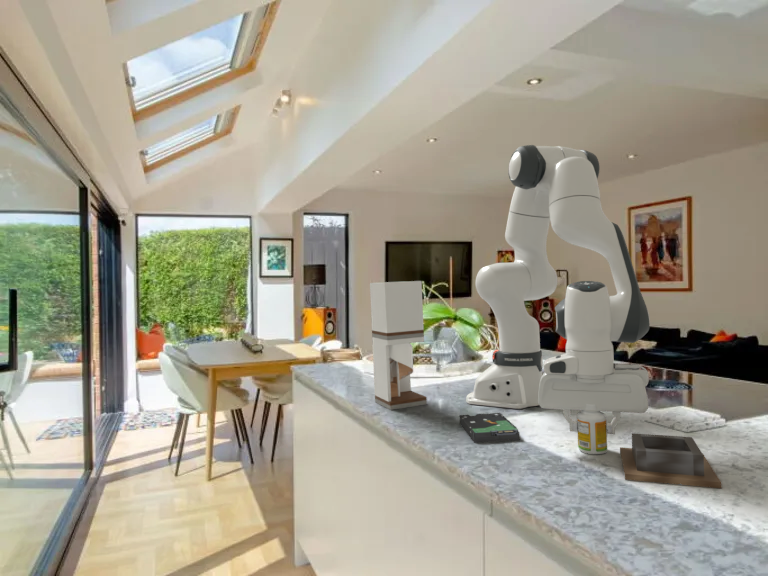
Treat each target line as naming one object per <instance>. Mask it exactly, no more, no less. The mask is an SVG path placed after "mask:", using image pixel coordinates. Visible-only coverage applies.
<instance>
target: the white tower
mask: <svg viewBox="0 0 768 576" xmlns="http://www.w3.org/2000/svg"><path fill="white" fill-rule="evenodd" d="M422 284H423V283H422V280H414V281H413V280H411V281H388V282H387V281H385V282H384V281H383V282H370V283H369V293H370V294H369V295H370V313H371V314H370V315H371V316H370V317H371V339H372V360H373V361H372V362H373V364H372V365H373V379H374V381H373V382H374V383H373V386H374V402H375V403H376V404H378V405H380V406H382V407H383V408H386V409H388V410H389V411H392V410H399V409H405V408H411V407H417V406H423V405H427V404H428V401H427V399H428V397H427V396H425V395H422V394H420V393H418V392H415V391H412V387H411V375H412V374H413V373H414V361H413V360H414V356H413V345H412V344H414V343H415V344H417V343H423V342H425V332H424V331H425V330H424V329H425V328H424V309H423V307H424V306H423V305H424V304H423V286H422Z"/></svg>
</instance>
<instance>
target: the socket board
mask: <svg viewBox="0 0 768 576" xmlns="http://www.w3.org/2000/svg"><path fill="white" fill-rule="evenodd" d="M619 453H620V459H621V463H622V468H623V469H624V470H623V474H624V479H625V480H626V481H627V480H628V481H636V482H646V483H647V482H648V483H656V484H657V483H659V484H667V483H669V484H668V485H678V484H682V485H681V486H689V485H690V486H691V487H703V488H712V489H713V488H715V489H722V488H723V487H722V481H721V480H720V478H719V476H718V475H717V474H716V472H715V470H714V469H713V467H712V466H711V464H710V462H709V461H708V459H707V457H705V455H704V453H703V452H702V451H701V449H700V448H699V445H697V443H696V441H695V440H694V438H693V436H684V435H683V436H682V435H681V436H680V435H678V436H677V435H664V434H651V433H650V434H649V433H648V434H647V433H633V432H632V433H631V447H622V446H621V447H619ZM690 486H689V487H690Z"/></svg>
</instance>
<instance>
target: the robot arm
mask: <svg viewBox="0 0 768 576" xmlns="http://www.w3.org/2000/svg"><path fill="white" fill-rule="evenodd" d="M599 176H600V162H599V159H598V157H597V156H596V154H594V153H593V152H590V151H588V150H584V149H575V148H572V147H567V146H561V145H557V146H552V145H549V146H548V145H534V144H528V145H522V146H518V147H517V148H516V149H515V150H514V152H513V153H512V154H511V157H510V159H509V163H508V178H509V181H510V183H512V185H513V186H515V188H514V190H513V192H512V193H513V194H512V197H511V201H510V205H509V210H508V215H507V222H506V225H505V226H506V227H505V233H504V238H505V242H506V243H507V244H508V245H509V246H510V247H511V248H512V249H513V251H514V261H513V262H511V261H510V262H496V263H492V264H488V265H485V266H483V267H482V268H480V269H479V270H478V272H477V274H476V277H475V290H476V292H477V294H478V295H479V297H480V298H481V299H482V300H483V301H485V303H487V304H488V305H489V307H490V309H491V310H492V312H493V314H494V318H495V320H496V323H497V331H498V342H499V349H495V350H494V351H493V353H492V364H491V365H490V366H488V368H486V369H485V370H484V371H482V372H481V373H480V374H479V375H478V376H477V377H476V379H475V381H474V386H473V391H472V392H470V393H468V394H467V395H466V397H465V398H466V399H465V401H466V403H467V404H469V405H478V406H488V407H497V408H505V409H506V408H507V409H516V410H517V409H519V410H520V409H525V408H529V407H536V406H539V407H540V408H541V409H548V410H549V409H550V410H562V411H563V416H564V417H565V418H564V419H566V421H567V423H568V424H569V431H570V433H571V432H572V433H573V432H574V433H578V428H577V420H574V419H573V418H572V417H571V415H572V411H582V410H585V409H586V404H595V405H596V409H597V411H601V412H611V413H612V418H613V419H612V420H611V422H606V430H607V435H616V426H617V424H618V423H619V421H620V420H621V418H622V417H621V416H622V415H621V413H630V414H631V413H633V414H645V413H646V412H647V411H648V409H649V401H648V400H649V399H648V394H647V390H646V387H647V385H648V384H649V381H650V380H649V372H648V370H647V369H646V368H645V367H643V366H642V365H640V364H639V363H631V364H630V363H618V362H617V363H615V362H614V345H613V342H617V343H630V344H635V343H636V342H638V341H639V340H641V339H642V338H643V337H644V336H645V335H646V334H647V333H648V332H649V331H650V326H651V325H650V324H651V319H650V313H649V310H648V307H647V305H646V301H645V299H644V297H643V295H642V292H641V288H640V286H639V283H638V280H637V277H636V272H635V269H634V265H633V262H632V258H631V256H630V252H629V249H628V246H627V243H626V240H625V237H624V235H623V232H622V230H621V228H620V227H619V225H618V223H617V224H616V223H614V222H612V221H611V220H610V219H609V218H608V217H607V215H606V214H605V212H604V210H603V207H602V202H601V191H600V186H599V182H598V179H599ZM550 225H551V230H553V232H554V234H556V236H558V238H560V240H563V241H564V242H567V244H570V245H572V246H575V247H580V248H584V249H588V250H590V251H593V252H595V253H598V254H599V255H601V256H602V257H603V258H604V259H606V261H607V263H608V266H609V268H610V272H611V276H612V278H613V283H614V286H615V289H616V290H615V291H616V294H615V295H610V294H609V289H608V286H607V285H606V284H605V283H602V282H601V281H600V282H599V281H594V280H580V281H576V282H571V283H570V284H568V285H567V287H566V291H565V296H564V297H565V298H563V299H561V300H560V301H559V302H558V303H557V305H555V307H554V310H555V318H556V319H555V320H556V325H555V332H556V333H557V335H559V336H560V337H562V338H563V339H564V340H566V343H565V352H564V353H562V354H559V355H555V356H552V357H548V358H546V359H545V361H544V360H543V359H544V358H543V357H544V356H543V351H542V350H541V343H540V342H541V338H540V337H541V336H540V324H539V322H538V320H537V319H536V318H535V317H533V316H532V315H530V314H529V312H528V311H527V308H526V305H525V302H526V301H537V300H540V299H545V298H546V297H549V296H552V294H554V293H555V291H556V289H557V287H558V274H557V272H556V270H555V269H554V267H553V266H552V265H551V264H550V261H549V257H548V251H547V240H548V235H549V229H550ZM543 371H544V372H543Z"/></svg>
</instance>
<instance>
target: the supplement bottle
mask: <svg viewBox="0 0 768 576" xmlns="http://www.w3.org/2000/svg"><path fill="white" fill-rule="evenodd" d="M576 421H577V428H578V432H577V447H578V451H580V452H581V451H582V452H581V453H584V454H587V453H588V454H587V455H603V454H605V453H607V451H608V436H607V435H608V434H607V416H606V414H605V413H603V411H597V409H596V405H595V404H586V409H585V410H579V412H578V413H576Z"/></svg>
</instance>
